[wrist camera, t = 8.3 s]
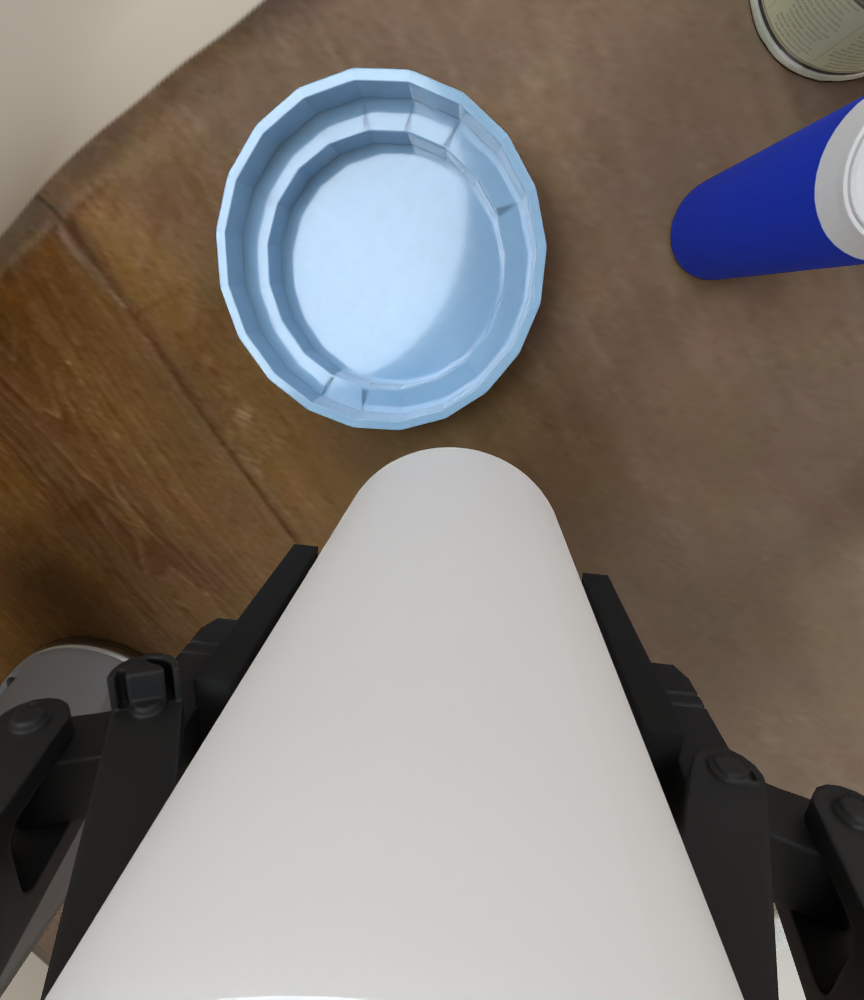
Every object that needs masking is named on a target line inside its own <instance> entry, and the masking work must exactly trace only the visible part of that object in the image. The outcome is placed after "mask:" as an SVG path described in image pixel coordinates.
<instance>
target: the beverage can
mask: <svg viewBox="0 0 864 1000" xmlns="http://www.w3.org/2000/svg"><path fill="white" fill-rule="evenodd" d="M671 246H672V250H673V253H674V256H675V258H676V260H677V261H678V263H679V264H680V266H681V267H682V268H683V269H684V270H685V271H686V272H688V273H689V274H691V275H693V276H695V277H697V278H701V279H705V280H719V279H728V278H738V277H747V276H756V275H766V274H775V273H784V272H794V271H803V270H812V269H822V268H831V267H840V266H850V265H859V264H864V96H863V97H861V98H859V99H857V100H855V101H853V102H852V103H850V104H848V105H846V106H844V107H842V108H840V109H838V110H837V111H835V112H833V113H831V114H829V115H827V116H825V117H824V118H822V119H820V120H818V121H816V122H814V123H812V124H811V125H809V126H807V127H805V128H803V129H801V130H799V131H798V132H796V133H794V134H792V135H790V136H788V137H786V138H784V139H783V140H781V141H779V142H777V143H775V144H773V145H771V146H770V147H768V148H766V149H764V150H762V151H760V152H758V153H757V154H755V155H753V156H751V157H749V158H747V159H745V160H744V161H742V162H740V163H738V164H736V165H734V166H732V167H730V168H729V169H727V170H725V171H723V172H721V173H719V174H717V175H716V176H714V177H712V178H710V179H708V180H706V181H705V182H703V183H701V184H700V185H698V186H697V187H696V188H694V189H693V190H692V191H691V192H690V193H689V194H688V195H687V196H686V197H685V199H684V200H683V201H682V203H681V204H680V206H679V208H678V210H677V212H676V214H675V217H674V220H673V223H672V228H671Z"/></svg>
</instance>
